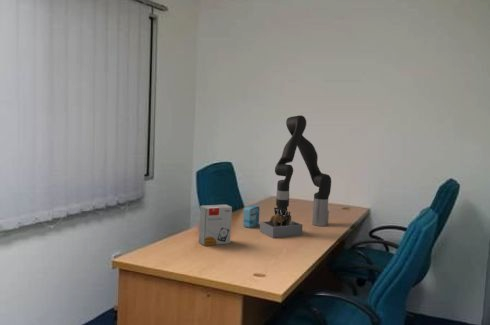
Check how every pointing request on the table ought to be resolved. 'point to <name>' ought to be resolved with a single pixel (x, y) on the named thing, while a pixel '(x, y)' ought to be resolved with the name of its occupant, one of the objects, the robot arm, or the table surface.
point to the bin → (280, 229)
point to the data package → (251, 216)
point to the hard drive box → (215, 224)
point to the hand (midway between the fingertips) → (281, 226)
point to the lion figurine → (278, 219)
